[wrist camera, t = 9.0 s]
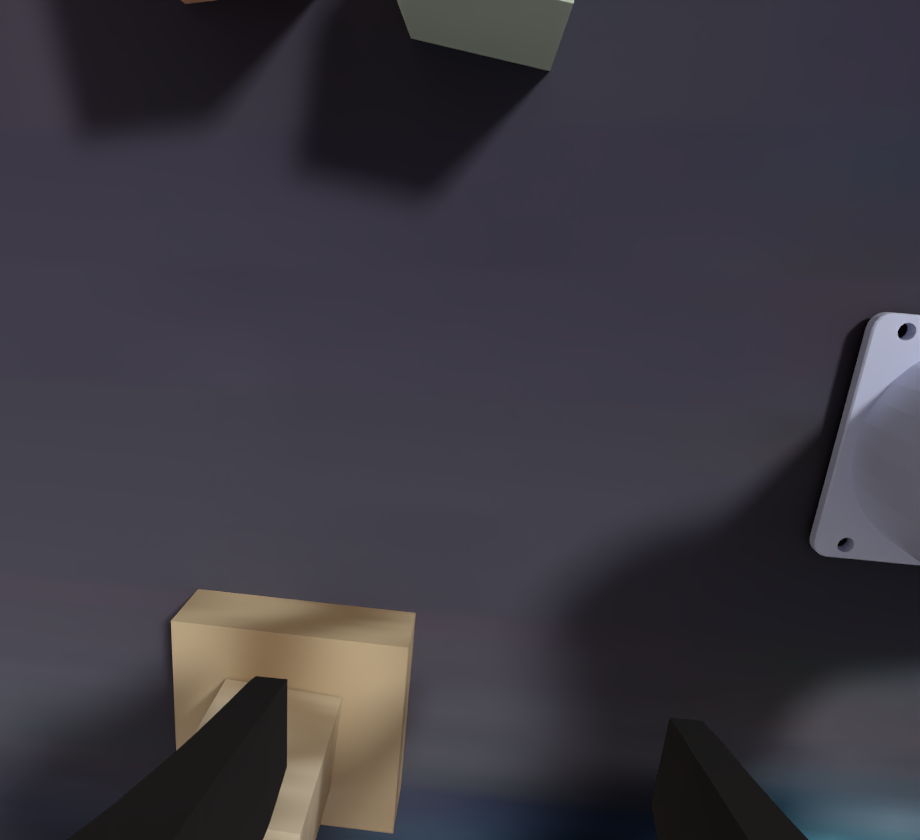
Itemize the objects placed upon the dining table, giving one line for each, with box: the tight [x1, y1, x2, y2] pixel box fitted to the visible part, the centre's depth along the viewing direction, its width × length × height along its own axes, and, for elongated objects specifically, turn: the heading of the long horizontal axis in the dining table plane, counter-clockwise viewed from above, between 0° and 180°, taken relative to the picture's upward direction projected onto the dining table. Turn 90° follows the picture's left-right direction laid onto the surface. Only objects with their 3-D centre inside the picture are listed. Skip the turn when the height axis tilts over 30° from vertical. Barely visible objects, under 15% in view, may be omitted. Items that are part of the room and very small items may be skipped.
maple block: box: [194, 679, 342, 840], centre depth 19 cm, size 4×4×5 cm
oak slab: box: [171, 589, 416, 833], centre depth 23 cm, size 8×8×2 cm
